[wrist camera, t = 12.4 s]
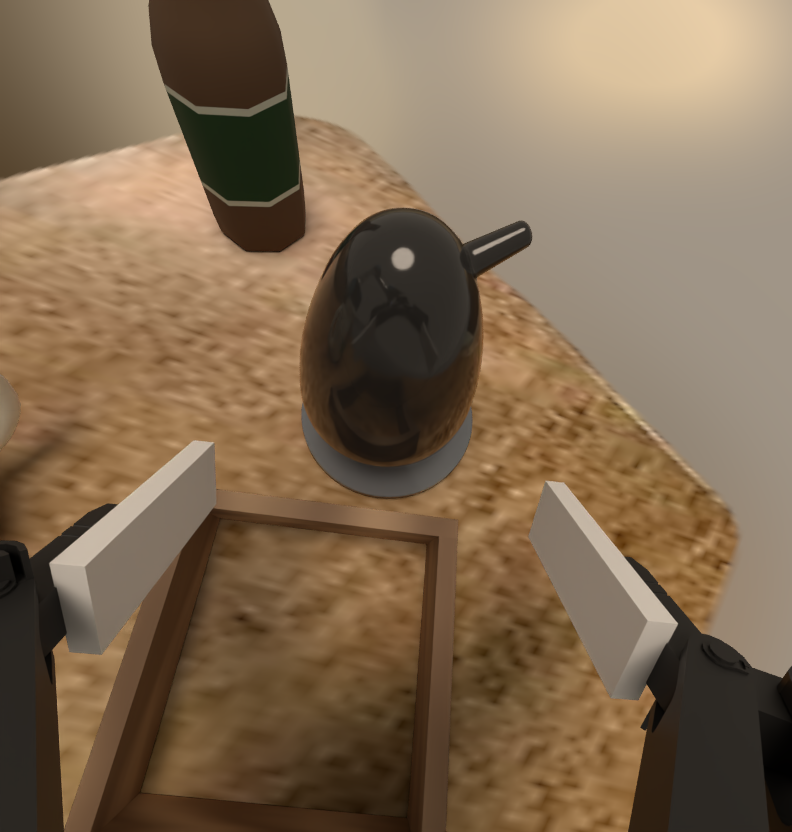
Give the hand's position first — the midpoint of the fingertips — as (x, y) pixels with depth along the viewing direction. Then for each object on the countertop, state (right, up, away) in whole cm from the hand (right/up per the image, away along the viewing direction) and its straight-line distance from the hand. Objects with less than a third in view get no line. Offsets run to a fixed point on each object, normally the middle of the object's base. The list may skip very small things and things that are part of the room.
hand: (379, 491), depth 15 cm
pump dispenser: (0, +3, +12) cm, 12 cm away
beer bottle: (-11, +20, +19) cm, 30 cm away
